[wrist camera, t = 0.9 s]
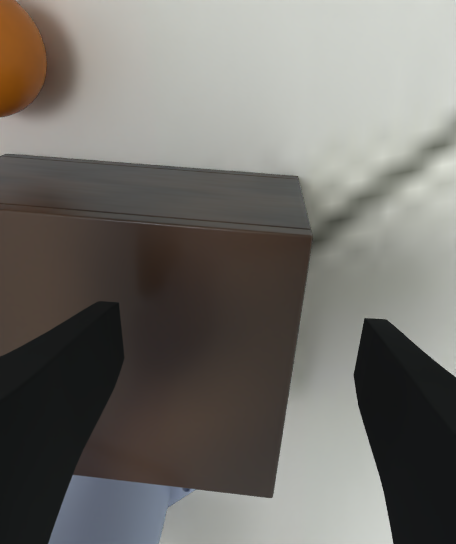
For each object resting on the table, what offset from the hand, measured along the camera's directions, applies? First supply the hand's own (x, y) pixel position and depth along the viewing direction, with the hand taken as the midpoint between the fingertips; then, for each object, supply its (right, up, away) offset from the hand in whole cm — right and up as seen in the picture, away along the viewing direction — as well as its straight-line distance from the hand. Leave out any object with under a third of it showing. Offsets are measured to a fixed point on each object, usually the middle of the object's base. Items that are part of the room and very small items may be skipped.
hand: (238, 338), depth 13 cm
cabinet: (-4, +2, +11) cm, 12 cm away
